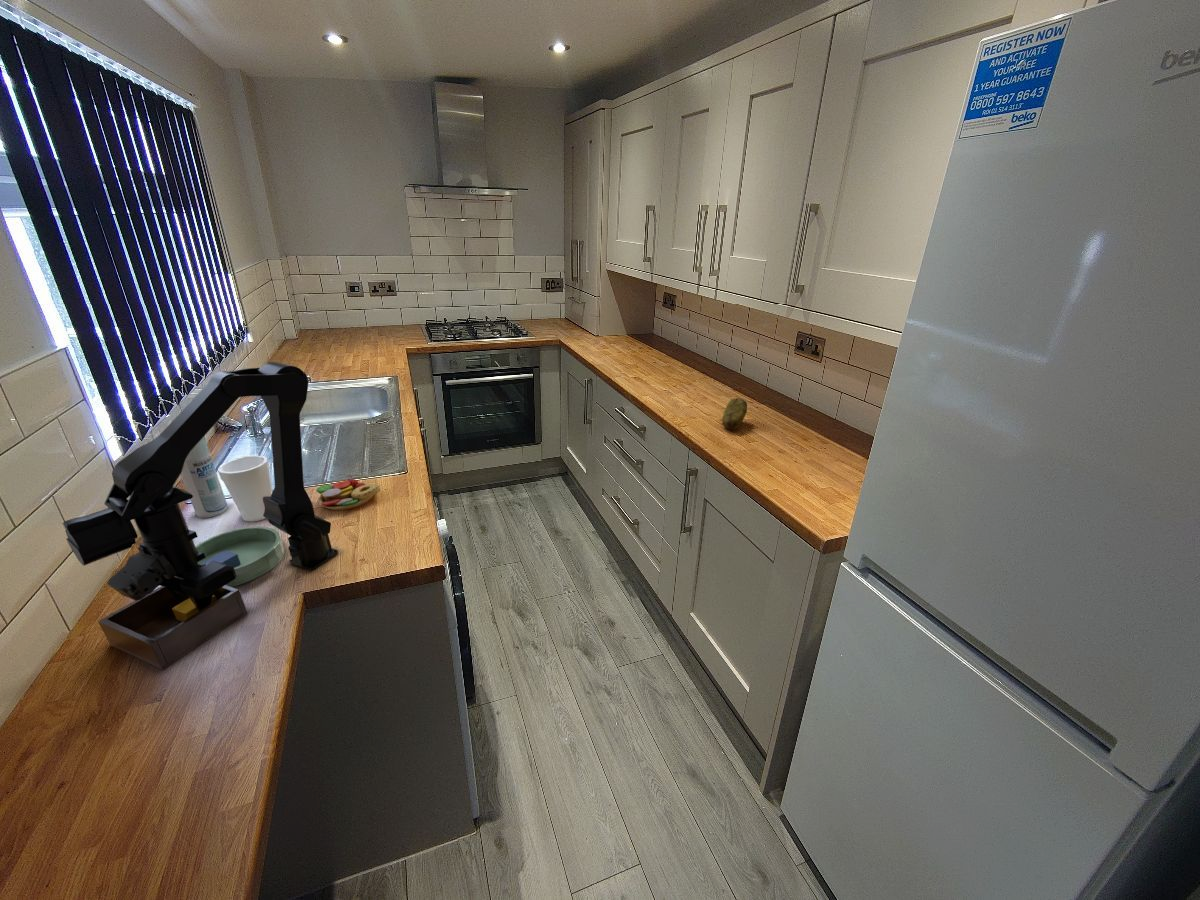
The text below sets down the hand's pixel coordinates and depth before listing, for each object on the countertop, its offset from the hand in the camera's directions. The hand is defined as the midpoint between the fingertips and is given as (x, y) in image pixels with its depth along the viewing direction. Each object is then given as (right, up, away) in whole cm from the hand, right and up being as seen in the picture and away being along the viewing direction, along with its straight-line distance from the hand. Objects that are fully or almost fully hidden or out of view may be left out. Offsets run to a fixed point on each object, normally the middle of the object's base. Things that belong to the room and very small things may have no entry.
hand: (197, 609), depth 90 cm
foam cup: (-10, +12, +32) cm, 36 cm away
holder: (-1, -3, -2) cm, 3 cm away
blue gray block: (-4, +4, +12) cm, 14 cm away
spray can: (-23, +13, +34) cm, 43 cm away
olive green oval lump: (+112, +35, +80) cm, 142 cm away
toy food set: (+7, +15, +38) cm, 42 cm away
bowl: (-3, +5, +15) cm, 16 cm away
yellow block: (0, -1, 0) cm, 1 cm away
